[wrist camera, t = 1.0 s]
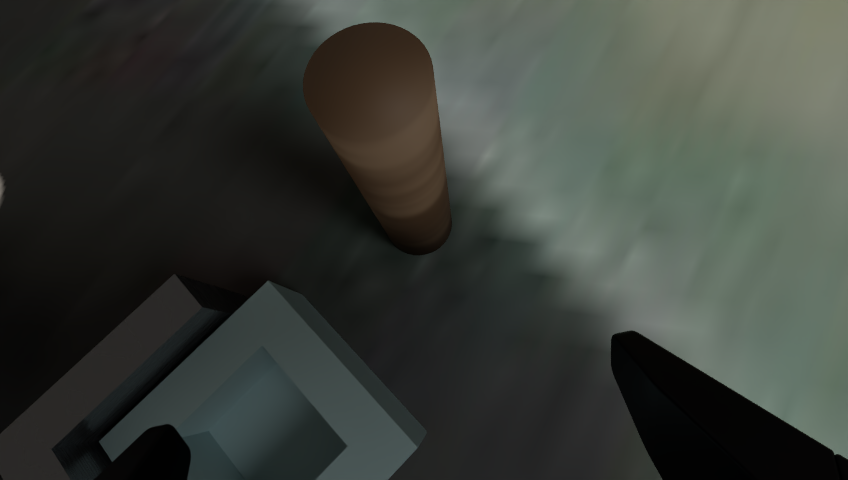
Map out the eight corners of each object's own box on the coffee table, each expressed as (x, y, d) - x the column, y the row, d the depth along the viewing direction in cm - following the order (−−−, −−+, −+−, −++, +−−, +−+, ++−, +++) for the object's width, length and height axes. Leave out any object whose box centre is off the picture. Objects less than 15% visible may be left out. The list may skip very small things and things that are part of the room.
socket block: (427, 431, 22) (417, 447, 18) (282, 586, 21) (234, 644, 17) (303, 295, 24) (268, 280, 20) (167, 427, 23) (98, 441, 19)
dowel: (465, 221, 24) (461, 71, 12) (418, 268, 24) (363, 163, 12) (419, 180, 25) (370, 1, 13) (373, 224, 25) (277, 83, 12)
